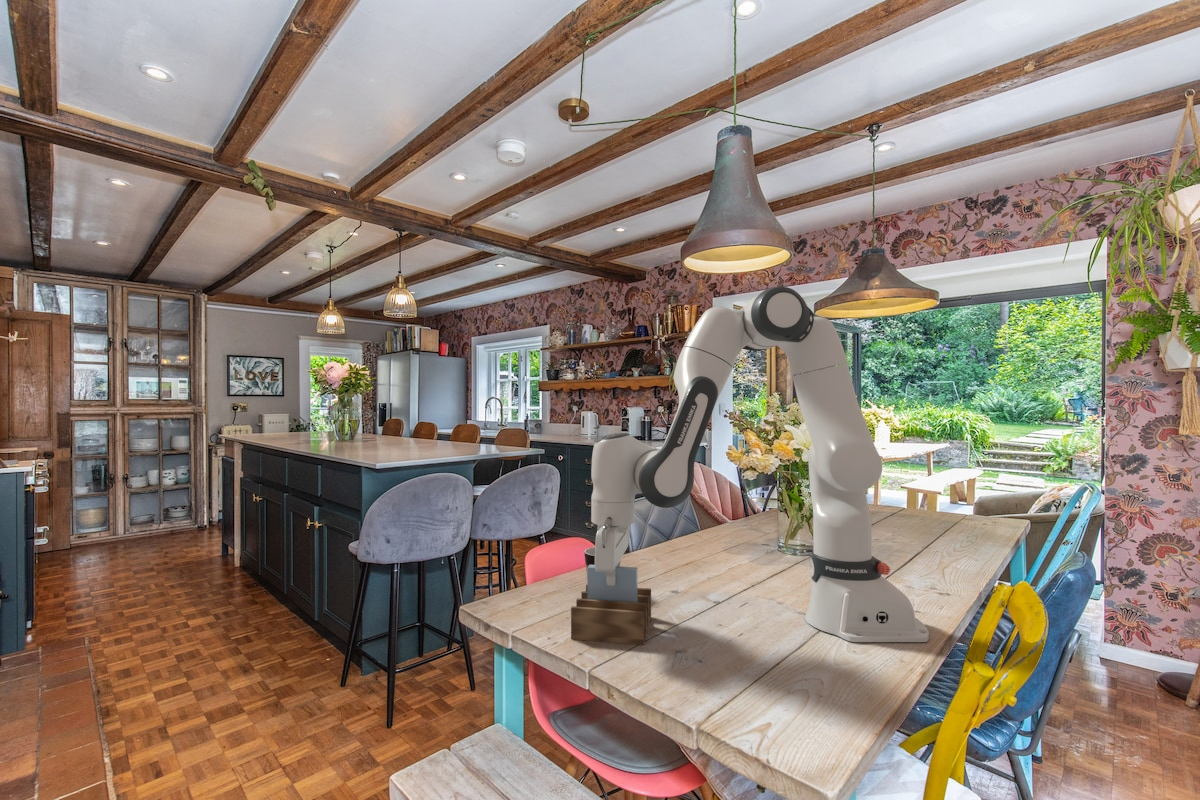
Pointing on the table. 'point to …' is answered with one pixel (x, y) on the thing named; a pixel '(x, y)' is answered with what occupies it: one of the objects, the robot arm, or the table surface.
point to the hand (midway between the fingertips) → (612, 581)
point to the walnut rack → (612, 619)
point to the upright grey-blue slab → (620, 591)
